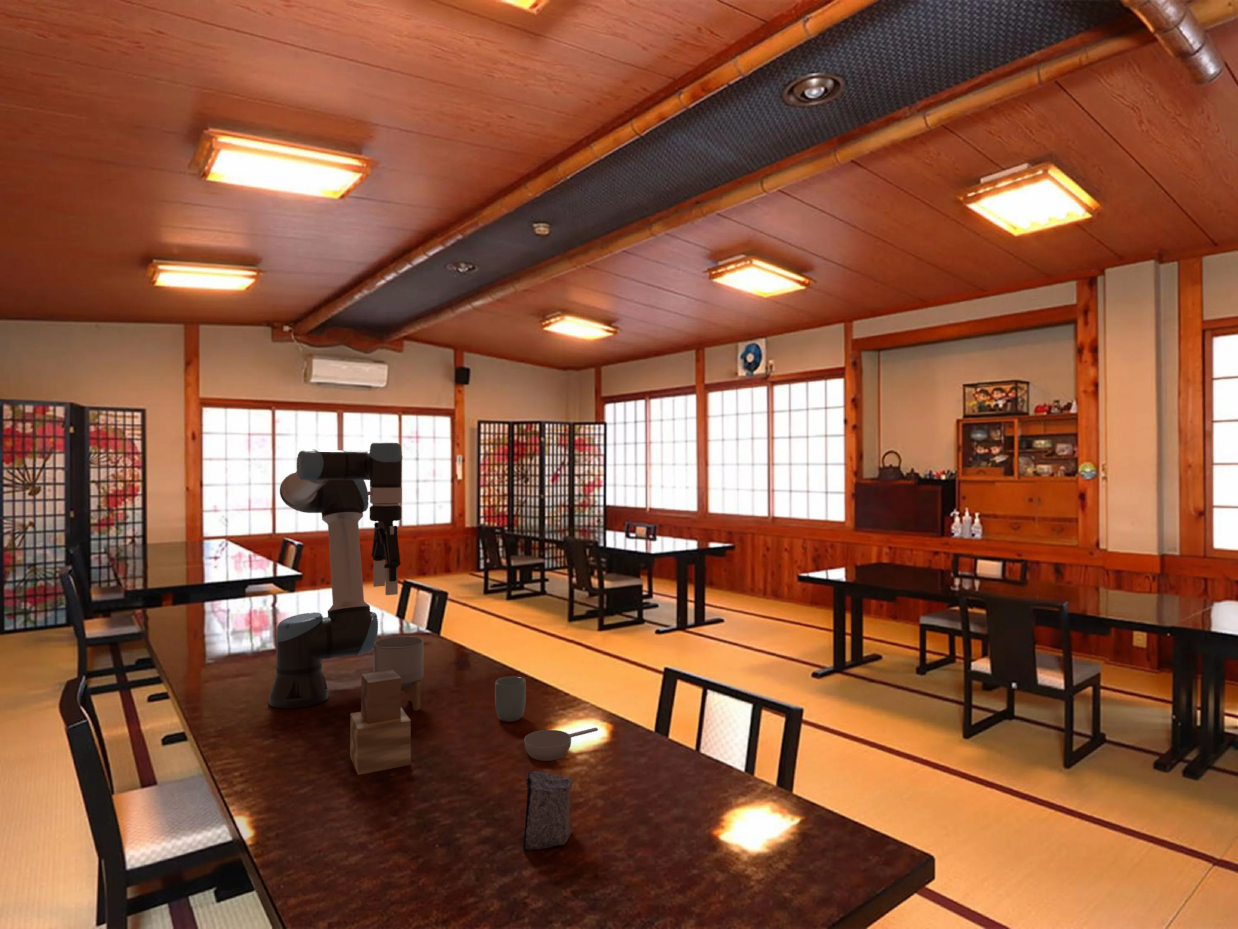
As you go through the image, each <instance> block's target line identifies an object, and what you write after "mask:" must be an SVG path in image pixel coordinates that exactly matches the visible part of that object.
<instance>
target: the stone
mask: <svg viewBox="0 0 1238 929" xmlns="http://www.w3.org/2000/svg"><path fill="white" fill-rule="evenodd" d="M525 782H526V783H525V785H527V786H526V788H527V790H526V791H527V792H526V804H525V805H526V810H525V821H524V833H523V842H522V843H523V844H522V847H523V849H524V850H527V851H532V850H543V849H549V848H552V847H557V846H561V845H565V844H566V843H567V842H568V840H569V838H570V836H571V835H572V829H571V822H570V819H571V818H570V813H571V798H572V797H571V792H572V791H571V790H572V785H573V779H572V778H570V777H566V776H563V775H562V776H561V775H556V774H553V773H547V772H544V771H531V772H530V771H529V772H526V776H525Z"/></svg>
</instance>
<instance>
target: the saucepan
mask: <svg viewBox="0 0 1238 929" xmlns="http://www.w3.org/2000/svg"><path fill="white" fill-rule="evenodd" d="M598 730H599V729H598V728H597V727H591V728H588V729H585V730H581V731H576V732H572V733H568V732H566V731H563V730H558V729H557V730H556V729H543V730H537V731H536V730H535V731H533V732H531V733H528V734H527V735H525V737H524V749H525V751H526V752H527V754H528V755H529V757H530V758H531V759H534V760H537V761H543V762H549V761H556V760H561V759H562V758H564V757H566V755H567V753H568V752H569V750H570V749H571V745H572V738H574V737H578V736H583V735H586V734H590V733H594V732H597V731H598Z"/></svg>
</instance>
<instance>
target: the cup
mask: <svg viewBox="0 0 1238 929" xmlns="http://www.w3.org/2000/svg"><path fill="white" fill-rule="evenodd" d="M526 700H527V682H526V679H525V678H524V677H521V676H503V677H499V678H498V679H496V680H495V684H494V703H495V706H494V707H495V713H496V716H497V717H498V719H500V720H501V721H503V722H507V723H508V722H511V723H512V722H517V721H518V720H520V719H521V718H522V717H523V715H524V713H525V709H526V702H527V701H526Z"/></svg>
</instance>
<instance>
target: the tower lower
mask: <svg viewBox="0 0 1238 929" xmlns="http://www.w3.org/2000/svg"><path fill="white" fill-rule="evenodd" d="M411 749H412V742H411V743H410V744H405V745H399V746H393V747H388V748H382V749H376V750H370V751H365V752H359V753H358V752H357V749H356V747H355V745H354V743H353V740H352V738H351V736H350V735H349V758H350V760H351V762H352V764H353V767H354V769H355V771H356V773H357V775H358V776H359V775H363V774H371V773H374V772H379V771H385V770H389V769H395V768H401V767H406V766H410V765H411V762H412V761H411V758H412V757H411V753H412V750H411Z"/></svg>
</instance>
